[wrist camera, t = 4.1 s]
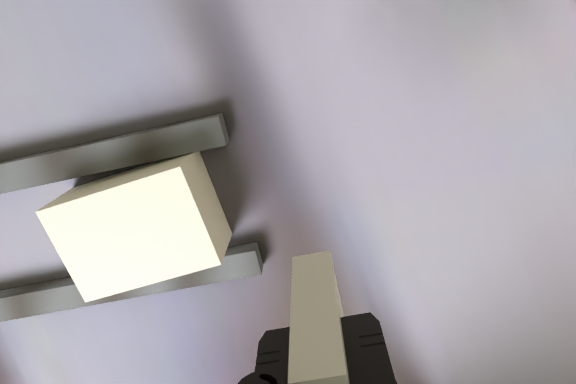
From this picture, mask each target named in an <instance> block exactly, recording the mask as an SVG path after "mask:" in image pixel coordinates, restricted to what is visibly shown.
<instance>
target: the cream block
mask: <svg viewBox="0 0 576 384" xmlns="http://www.w3.org/2000/svg"><path fill="white" fill-rule="evenodd" d="M36 214H37V216H38V218H39V219H40V221H41V223H42V225H43V227H44V229H45V230H46V232H47V234H48V236H49V238H50V239H51V241H52V243H53V245H54V247H55V248H56V250H57V252H58V254H59V256H60V258H61V259H62V261H63V263H64V265H65V267H66V268H67V270H68V272H69V274H70V276H71V278H72V279H73V281H74V283H75V285H76V287H77V288H78V290H79V292H80V294H81V296H82V298H83V299H84V301H85V303H86V302H89V301H93V300H97V299H100V298H104V297H107V296H111V295H114V294H118V293H122V292H125V291H129V290H132V289H136V288H140V287H143V286H147V285H150V284H154V283H158V282H161V281H165V280H168V279H172V278H175V277H179V276H183V275H186V274H190V273H193V272H197V271H201V270H204V269H208V268H211V267H215V266H219V265H221V264H222V261H223V258H224V256H225V253H226V250H227V247H228V244H229V242H230V239H231V236H232V232H231V229H230V227H229V224H228V222H227V219H226V217H225V214H224V212H223V209H222V207H221V204H220V202H219V199H218V197H217V194H216V192H215V189H214V187H213V184H212V182H211V179H210V177H209V174H208V172H207V169H206V167H205V164H204V162H203V159H202V157H201V154H200V152H194V153H189V154H185V155H180V156H175V157H171V158H166V159H162V160H159V161H155V162H152V163H149V164H146V165H143V166H140V167H137V168H133V169H130V170H127V171H124V172H121V173H118V174H115V175H112V176H108V177H105V178H102V179H99V180H96V181H93V182H90V183H86V184H83V185H80V186H77V187H74V188H72V189H70V190H69V191H67V192H66V193H64V194H63V195H61V196H60V197H58V198H56V199H55V200H53V201H52V202H50V203H49V204H47V205H46V206H44V207H42V208H41V209H39V210H38V211H36Z"/></svg>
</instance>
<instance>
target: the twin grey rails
mask: <svg viewBox="0 0 576 384" xmlns="http://www.w3.org/2000/svg"><path fill="white" fill-rule="evenodd" d="M229 141H230V139H229V135H228V132H227V128H226V124H225V121H224V117H223V113H219V114H215V115H210V116H206V117H201V118H197V119H192V120H188V121H183V122H179V123H174V124H170V125H165V126H161V127H156V128H152V129H147V130H142V131H138V132H133V133H129V134H124V135H120V136H115V137H111V138H106V139H102V140H97V141H93V142H88V143H84V144H79V145H75V146H70V147H66V148H61V149H57V150H52V151H48V152H43V153H39V154H34V155H30V156H25V157H21V158H16V159H12V160H7V161H3V162H0V194H2V193H7V192H12V191H16V190H21V189H26V188H30V187H35V186H40V185H44V184H49V183H54V182H58V181H63V180H68V179H72V178H77V177H82V176H86V175H91V174H96V173H101V172H105V171H110V170H115V169H119V168H124V167H129V166H133V165H138V164H143V163H147V162H152V161H157V160H161V159H166V158H171V157H175V156H180V155H185V154H189V153H194V152H199V151H204V150H208V149H213V148H218V147H222V146H226V145H227V144H228V143H229ZM262 269H263V262H262V258H261V254H260V250H259V247H258V243H257V242H253V243H248V244H242V245H237V246H232V247H227V250H226V253H225V256H224V258H223V261H222V264H221V265H219V266H215V267H211V268H208V269H204V270H201V271H197V272H193V273H190V274H186V275H183V276H179V277H175V278H172V279H168V280H165V281H161V282H158V283H154V284H150V285H147V286H143V287H140V288H136V289H132V290H129V291H125V292H122V293H118V294H114V295H111V296H107V297H104V298H100V299H97V300H93V301H89V302H86V303H85V301H84V299H83V298H82V296H81V294H80V292H79V290H78V288H77V287H76V285H75V283H74V281H73V279H72V278H71V277H68V278H63V279H58V280H52V281H47V282H42V283H36V284H31V285H26V286H21V287H15V288H10V289H5V290H0V322H2V321H8V320H13V319H19V318H24V317H30V316H35V315H41V314H46V313H52V312H57V311H63V310H68V309H74V308H79V307H85V306H90V305H96V304H101V303H107V302H112V301H118V300H123V299H129V298H134V297H140V296H145V295H151V294H156V293H162V292H168V291H173V290H179V289H184V288H190V287H195V286H201V285H206V284H212V283H217V282H223V281H228V280H234V279H239V278H245V277H250V276H256V275H261V274H262Z"/></svg>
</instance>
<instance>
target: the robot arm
mask: <svg viewBox="0 0 576 384" xmlns="http://www.w3.org/2000/svg"><path fill="white" fill-rule="evenodd" d="M238 384H397V382H396V380H395V377H394V373H393V370H392V366H391V362H390V359H389V355H388V351H387V348H386V344H385V340H384V337H383V333H382V329H381V326H380V322H379V320H377V319H376V318H375V317H374V316H373V315H372V314H371V313H364V314H358V315H352V316H346V317H343V310H342V305H341V300H340V295H339V291H338V286H337V281H336V276H335V272H334V267H333V262H332V257H331V253H330V250H329V251H324V252H318V253H313V254H307V255H302V256H297V257H293V258H292V284H291V310H290V327H287V328H281V329H275V330H269V331H266V332H265V333H264V335H263V336H262V338H261V340H260V341H259V344H258V351H257V359H256V366H255V372H253V373H250V374H249V375H247V376H246V377H244V378H242V379H241V380H240V382H239V383H238Z"/></svg>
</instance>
